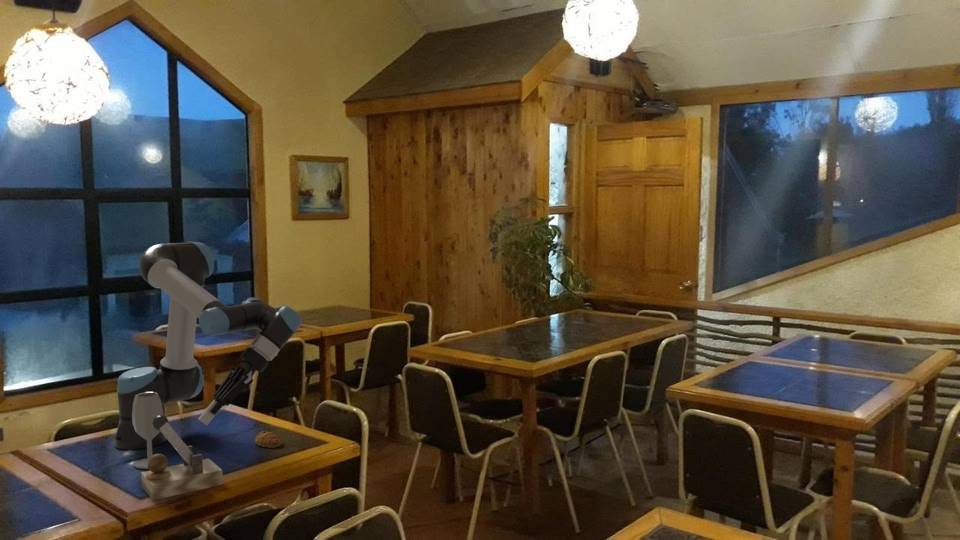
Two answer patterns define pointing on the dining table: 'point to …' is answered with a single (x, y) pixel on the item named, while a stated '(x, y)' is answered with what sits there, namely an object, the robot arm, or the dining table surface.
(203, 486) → the nutcracker base
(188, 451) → the lever
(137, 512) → the dining table surface
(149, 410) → the wineglass
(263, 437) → the pastry
